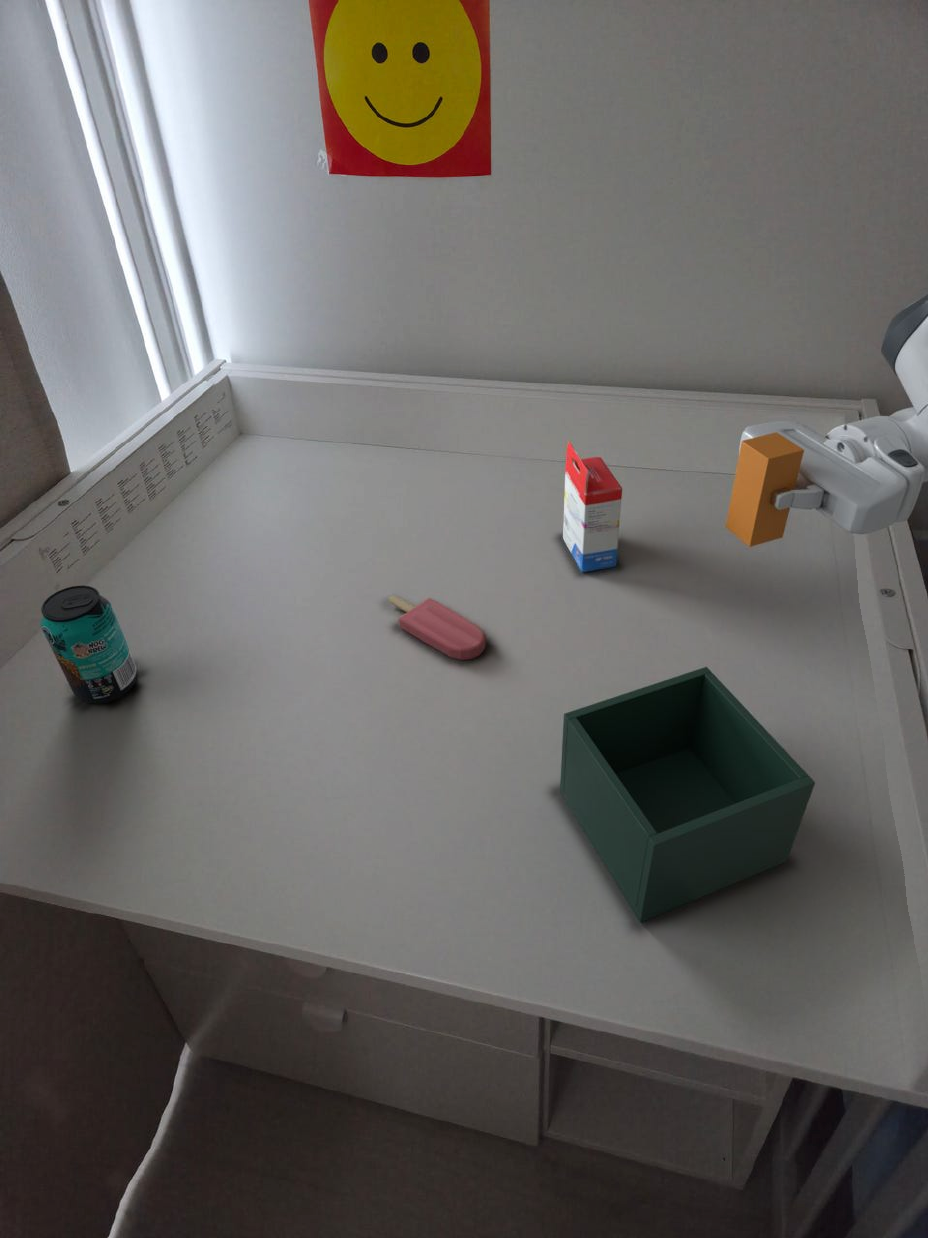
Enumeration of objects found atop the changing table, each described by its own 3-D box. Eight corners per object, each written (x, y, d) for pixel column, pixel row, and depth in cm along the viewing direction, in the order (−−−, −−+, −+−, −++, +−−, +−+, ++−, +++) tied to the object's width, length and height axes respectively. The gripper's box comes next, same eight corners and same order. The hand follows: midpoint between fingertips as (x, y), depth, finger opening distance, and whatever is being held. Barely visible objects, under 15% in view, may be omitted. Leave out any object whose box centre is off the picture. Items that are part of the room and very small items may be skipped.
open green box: (786, 861, 71) (815, 782, 64) (640, 922, 67) (654, 845, 60) (690, 745, 81) (706, 666, 74) (559, 792, 77) (563, 713, 70)
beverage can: (77, 671, 93) (38, 589, 86) (140, 658, 95) (107, 575, 87) (72, 713, 88) (30, 629, 81) (139, 699, 89) (103, 615, 82)
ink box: (617, 568, 104) (627, 466, 95) (580, 574, 104) (586, 472, 94) (595, 532, 111) (602, 434, 101) (560, 537, 110) (564, 439, 101)
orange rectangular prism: (782, 537, 92) (804, 449, 85) (749, 547, 90) (768, 459, 83) (757, 518, 95) (776, 431, 88) (725, 527, 94) (741, 440, 87)
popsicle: (405, 582, 101) (495, 633, 93) (406, 592, 102) (495, 644, 94) (373, 603, 98) (463, 657, 90) (375, 613, 99) (464, 668, 91)
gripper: (803, 399, 98) (705, 423, 94) (938, 476, 83) (828, 507, 79) (792, 447, 102) (698, 471, 98) (919, 528, 87) (813, 560, 83)
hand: (757, 488), depth 89 cm, fingers closed on orange rectangular prism, 4 cm apart
